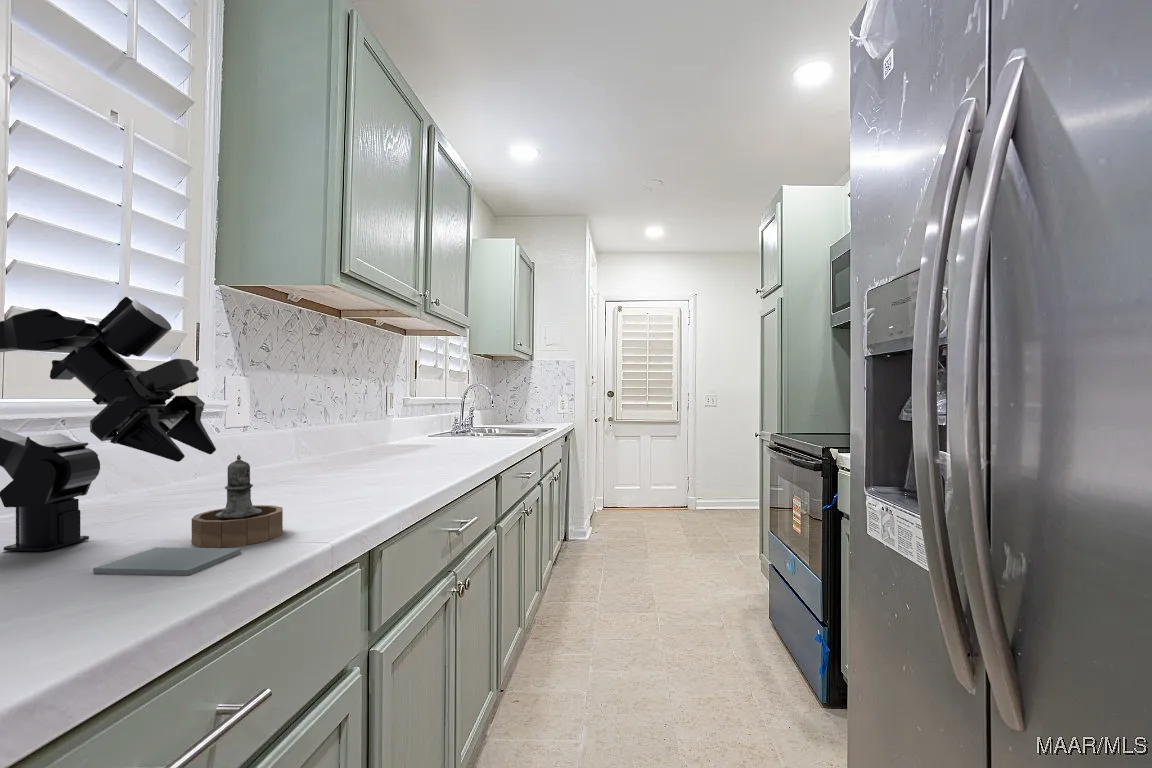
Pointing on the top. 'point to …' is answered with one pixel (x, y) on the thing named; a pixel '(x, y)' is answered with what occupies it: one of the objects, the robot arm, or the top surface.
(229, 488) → the salt shaker
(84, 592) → the top surface
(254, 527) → the ring
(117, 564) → the mat
